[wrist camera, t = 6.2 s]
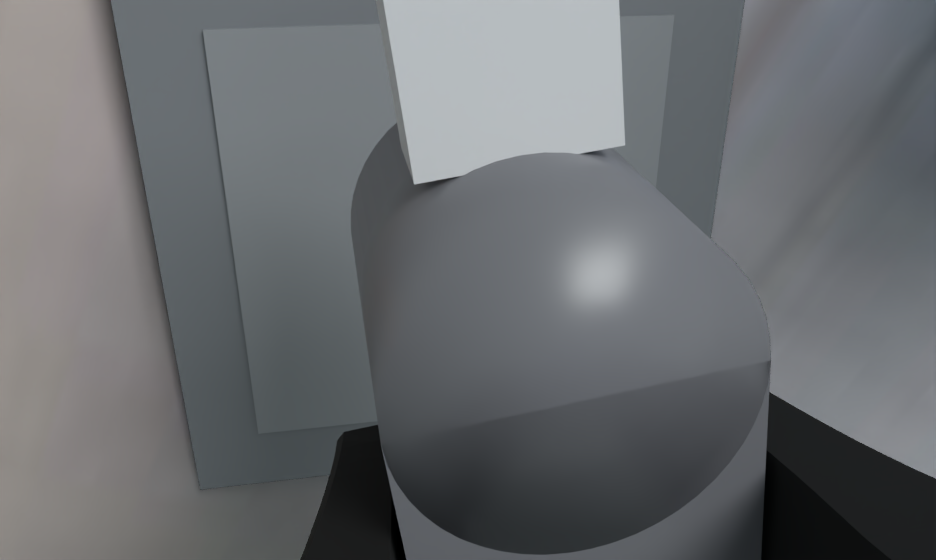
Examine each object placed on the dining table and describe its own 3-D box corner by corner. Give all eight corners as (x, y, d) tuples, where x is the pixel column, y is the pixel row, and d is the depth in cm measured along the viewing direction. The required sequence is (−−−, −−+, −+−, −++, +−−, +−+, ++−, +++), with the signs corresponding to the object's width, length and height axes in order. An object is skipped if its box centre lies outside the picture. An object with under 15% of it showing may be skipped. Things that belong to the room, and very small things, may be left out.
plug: (284, -81, 10) (273, -37, 6) (599, -130, 10) (794, -118, 6) (426, 594, 15) (473, 862, 11) (633, 546, 15) (749, 788, 11)
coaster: (740, -71, 17) (757, -68, 16) (673, 420, 22) (684, 436, 22) (106, -62, 15) (98, -58, 14) (202, 473, 20) (199, 492, 20)
